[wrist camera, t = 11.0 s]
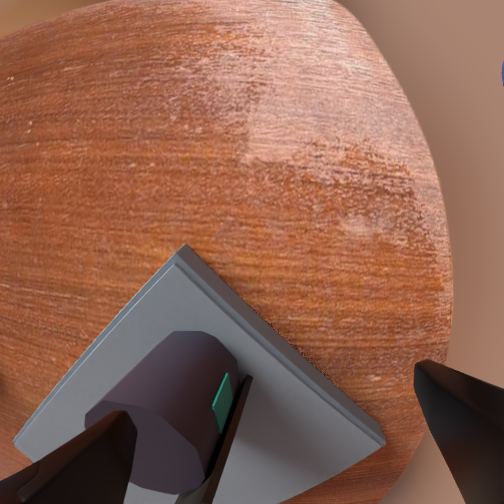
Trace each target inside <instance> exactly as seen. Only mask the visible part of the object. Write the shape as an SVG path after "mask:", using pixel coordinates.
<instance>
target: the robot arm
mask: <svg viewBox="0 0 504 504" xmlns="http://www.w3.org/2000/svg"><path fill="white" fill-rule="evenodd" d="M414 390H415V393H416V395H417V398H418V401H419V403H420V406H421V408H422V411H423V414H424V416H425V419H426V422H427V424H428V427H429V429H430V431H431V434H432V435H433V437H434V439H435V441H436V443H437V445H438V447H439V449H440V451H441V453H442V455H443V457H444V459H445V461H446V463H447V465H448V467H449V469H450V471H451V473H452V475H453V477H454V480H455V482H456V484H457V486H458V488H459V490H460V492H461V494H462V497H463V499H464V501H465V503H466V504H504V389H503V388H500V387H498V386H495V385H492V384H490V383H487V382H484V381H482V380H479V379H477V378H474V377H472V376H469V375H467V374H464V373H462V372H459V371H457V370H454V369H452V368H449V367H447V366H444V365H442V364H439V363H437V362H434V361H432V360H429V359H426V360H423V361H420V362H417V363H416V364H415V368H414ZM137 435H138V431H137V428H136V426H135V424H134V422H133V421H132V419H131V417H130V415H129V413H128V412H127V411H125V410H114V411H112V412H111V413H110V414H108V415H107V416H105V417H104V418H102V419H101V420H99V421H98V422H96V423H95V424H93V425H92V426H90V427H89V428H87V429H86V430H84V431H83V432H81V433H80V434H78V435H77V436H75V437H74V438H72V439H71V440H69V441H68V442H66V443H65V444H63V445H62V446H60V447H58V448H57V449H55V450H54V451H52V452H51V453H49V454H47V455H46V456H44V457H43V458H41V460H38V461H36V462H35V463H33V464H31V465H30V466H28V467H26V468H25V469H23V470H21V471H19V472H17V473H15V474H13V475H12V476H10V477H8V478H5V479H3V480H1V481H0V504H123V503H124V499H125V495H126V492H127V488H128V484H129V480H130V476H131V472H132V467H133V461H134V454H135V448H136V441H137Z"/></svg>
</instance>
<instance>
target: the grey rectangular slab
mask: <svg viewBox="0 0 504 504" xmlns="http://www.w3.org/2000/svg"><path fill="white" fill-rule="evenodd" d="M173 331H203V332H205V333H208V334H210V335H212V336H214V337H216V338H217V339H218V340H219V341H220V342H221V343H222V344H223V345H224V346H225V347H226V348H227V350H228V351H229V352H230V353H231V354H232V355H233V356H234V357H235V358H236V359H237V365H238V372H239V379H240V384H241V383H242V382H243V380H244V379H245V377H246V376H247V375H250V376H252V377H253V380H252V383H251V387H250V390H249V393H248V396H247V399H246V403H245V406H244V409H243V412H242V415H241V419H240V422H239V425H238V428H237V431H236V434H235V437H234V440H233V443H232V446H231V449H230V452H229V455H228V458H227V461H226V464H225V467H224V470H223V473H222V476H221V479H220V482H219V485H218V488H217V491H216V494H215V497H214V499H213V502H212V504H279V503H281V502H283V501H285V500H288V499H290V498H292V497H294V496H296V495H298V494H300V493H303V492H305V491H307V490H309V489H311V488H313V487H315V486H317V485H319V484H320V483H322V482H324V481H326V480H328V479H330V478H332V477H333V476H335V475H337V474H339V473H341V472H342V471H344V470H346V469H348V468H349V467H351V466H353V465H354V464H356V463H358V462H359V461H361V460H362V459H364V458H366V457H367V456H369V455H370V454H372V453H373V452H375V451H377V450H378V449H380V448H381V447H382V446H383V445H384V444H386V443H387V441H386V439H385V437H384V434H383V432H382V430H381V427H380V425H379V423H378V422H376V421H375V420H374V419H373V418H372V417H371V416H369V415H368V414H367V413H366V412H365V411H364V410H363V409H361V408H360V407H359V406H358V405H357V404H356V403H355V402H353V401H352V400H351V399H350V398H349V397H348V396H347V395H345V394H344V393H343V392H342V391H341V390H340V389H339V388H338V387H336V386H335V385H334V384H333V383H332V382H331V381H330V380H329V379H327V378H326V377H325V376H324V375H323V374H322V373H321V372H320V371H319V370H317V369H316V368H315V367H314V366H313V365H312V364H311V363H310V362H309V361H308V360H306V359H305V358H304V357H303V356H302V355H301V354H300V353H299V352H298V351H297V350H296V349H294V348H293V347H292V346H291V345H290V344H289V343H288V342H287V341H286V340H285V339H284V338H283V337H282V336H280V335H279V334H278V333H277V332H276V331H275V330H274V329H273V328H272V327H271V326H270V325H269V324H268V323H267V322H266V321H264V320H263V319H262V318H261V317H260V316H259V315H258V314H257V313H256V312H255V311H254V310H253V309H252V308H251V307H250V306H249V305H248V304H247V303H246V302H245V301H244V300H242V299H241V298H240V297H239V296H238V295H237V294H236V293H235V292H234V291H233V290H232V289H231V288H230V287H229V286H228V285H227V284H226V283H225V282H224V281H223V280H222V279H221V278H220V277H219V276H218V275H217V274H216V273H215V272H214V271H213V270H212V269H211V268H210V267H209V266H208V265H207V264H206V263H205V262H204V261H203V260H202V259H201V258H200V257H199V256H198V255H197V254H196V253H195V252H194V251H193V250H192V249H191V248H190V247H189V246H188V245H187V244H184V245H183V246H182V247H181V248H180V249H178V250H177V251H176V252H175V253H174V254H173V255H172V256H171V257H170V258H169V259H168V260H167V262H166V263H165V264H164V265H163V266H162V267H161V268H160V269H159V270H158V271H157V272H156V273H155V274H154V275H153V276H152V277H151V278H150V279H149V281H148V282H147V283H146V284H145V285H144V286H143V287H142V288H141V289H140V290H139V291H138V292H137V293H136V295H135V296H134V297H133V298H132V299H131V300H130V301H129V302H128V303H127V304H126V305H125V307H124V308H123V309H122V310H121V311H120V312H119V313H118V314H117V315H116V317H115V318H114V319H113V320H112V321H111V322H110V323H109V324H108V326H107V327H106V328H105V329H104V330H103V331H102V332H101V333H100V335H99V336H98V337H97V338H96V339H95V340H94V341H93V343H92V344H91V345H90V346H89V347H88V348H87V349H86V351H85V352H84V353H83V354H82V355H81V356H80V358H79V359H78V360H77V361H76V362H75V364H74V365H73V366H72V367H71V368H70V369H69V371H68V372H67V373H66V374H65V375H64V377H63V378H62V379H61V380H60V381H59V383H58V384H57V385H56V386H55V388H54V389H53V390H52V391H51V392H50V394H49V395H48V396H47V397H46V399H45V400H44V401H43V402H42V404H41V405H40V406H39V407H38V409H37V410H36V411H35V412H34V414H33V415H32V416H31V418H30V419H29V420H28V421H27V423H26V424H25V425H24V427H23V428H22V429H21V430H20V432H19V433H18V434H17V436H16V437H15V438H14V440H13V441H12V442H13V443H14V446H15V447H16V448H17V449H19V450H20V451H21V452H22V453H23V454H24V455H25V456H26V457H28V458H29V459H30V460H31V461H32V462H33V463H35V462H36V461H38V460H41V458H43V457H44V456H46V455H47V454H49V453H51V452H52V451H54V450H55V449H57V448H58V447H60V446H62V445H63V444H65V443H66V442H68V441H69V440H71V439H72V438H74V437H75V436H77V435H78V434H80V433H81V432H83V431H84V430H86V429H85V427H84V423H85V414H86V413H87V412H88V411H89V410H90V409H91V408H92V407H93V406H94V405H95V404H96V403H97V402H98V401H99V400H100V399H101V398H102V397H104V396H105V395H106V394H107V393H108V392H109V391H110V390H111V389H112V388H113V387H114V386H115V385H116V384H117V383H118V382H119V381H120V380H121V379H122V378H123V377H124V376H125V375H126V374H127V373H128V372H129V371H130V370H132V369H133V368H134V367H135V366H136V365H137V364H138V363H139V362H140V361H141V360H142V359H143V358H144V357H145V356H146V355H147V354H148V353H149V352H150V351H151V350H152V349H153V348H154V347H155V346H156V345H158V344H159V343H160V342H161V341H162V340H164V339H165V338H166V337H167V336H168V335H169V334H171V333H172V332H173ZM178 495H179V494H177V495H171V494H166V493H161V492H157V491H153V490H148V489H144V488H141V487H139V486H137V485H135V484H133V483H131V482H129V484H128V488H127V492H126V495H125V499H124V503H123V504H175V502H176V500H177V498H178Z"/></svg>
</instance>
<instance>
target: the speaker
mask: <svg viewBox="0 0 504 504" xmlns="http://www.w3.org/2000/svg"><path fill="white" fill-rule="evenodd" d="M252 380H253V377H252V376H250V375H247V376H246V377H245V379H244V380H243V382H242V383H241V384H240V379H239V372H238V365H237V359H236V358H235V357H234V356H233V355H232V354H231V353H230V352H229V351H228V350H227V348H226V347H225V346H224V345H223V344H222V343H221V342H220V341H219V340H218V339H217V338H216V337H214V336H212V335H210V334H208V333H205V332H203V331H173V332H172V333H171V334H169V335H168V336H167V337H166V338H165V339H164V340H162V341H161V342H160V343H159V344H158V345H156V346H155V347H154V348H153V349H152V350H151V351H150V352H149V353H148V354H147V355H146V356H145V357H144V358H143V359H142V360H141V361H140V362H139V363H138V364H137V365H136V366H135V367H134V368H133V369H132V370H130V371H129V372H128V373H127V374H126V375H125V376H124V377H123V378H122V379H121V380H120V381H119V382H118V383H117V384H116V385H115V386H114V387H113V388H112V389H111V390H110V391H109V392H108V393H107V394H106V395H105V396H104V397H102V398H101V399H100V400H99V401H98V402H97V403H96V404H95V405H94V406H93V407H92V408H91V409H90V410H89V411H88V412H87V413H86V414H85V423H84V427H85V429H87V428H89V427H90V426H92V425H93V424H95V423H96V422H98V421H99V420H101V419H102V418H104V417H105V416H107V415H108V414H110V413H111V412H112V411H114V410H125V411H127V412H128V413H129V415H130V417H131V419H132V421H133V422H134V424H135V426H136V428H137V431H138V435H137V441H136V448H135V454H134V461H133V467H132V472H131V476H130V480H129V482H131V483H133V484H135V485H137V486H139V487H141V488H144V489H148V490H153V491H157V492H161V493H166V494H171V495H177V494H179V495H178V498H177V500H176V502H175V504H212V502H213V499H214V497H215V494H216V491H217V488H218V485H219V482H220V479H221V476H222V473H223V470H224V467H225V464H226V461H227V458H228V455H229V452H230V449H231V446H232V443H233V440H234V437H235V434H236V431H237V428H238V425H239V422H240V419H241V415H242V412H243V409H244V406H245V403H246V399H247V396H248V393H249V390H250V387H251V383H252Z"/></svg>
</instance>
